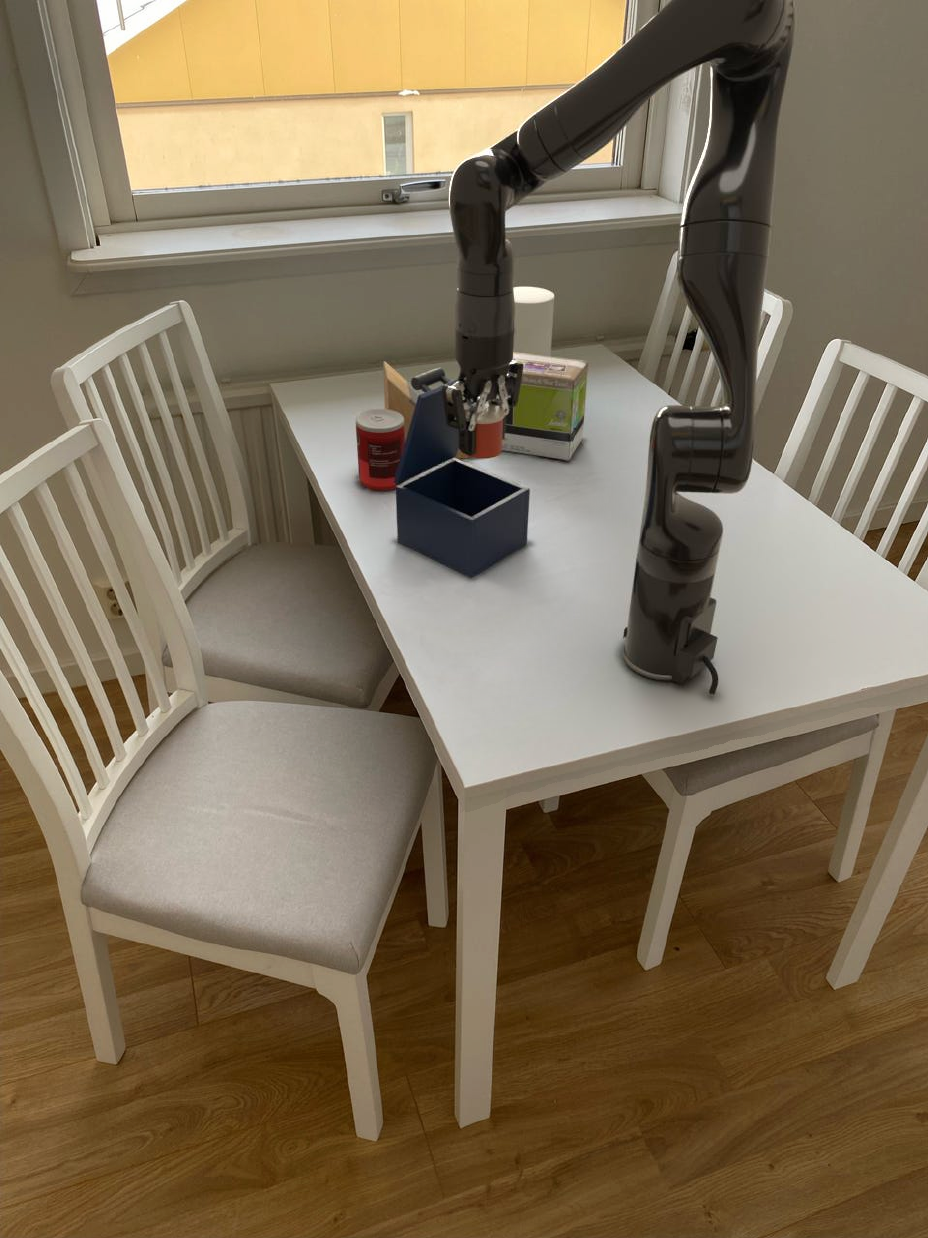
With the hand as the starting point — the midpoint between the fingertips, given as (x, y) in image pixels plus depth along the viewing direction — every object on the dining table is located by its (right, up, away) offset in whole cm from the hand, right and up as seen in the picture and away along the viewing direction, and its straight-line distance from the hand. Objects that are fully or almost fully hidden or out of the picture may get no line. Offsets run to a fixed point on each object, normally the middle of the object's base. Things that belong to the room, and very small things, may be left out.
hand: (482, 445), depth 132 cm
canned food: (-16, -1, +27) cm, 32 cm away
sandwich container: (-8, +6, +37) cm, 38 cm away
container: (+9, +19, +56) cm, 60 cm away
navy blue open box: (-3, -13, +11) cm, 17 cm away
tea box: (+10, +7, +39) cm, 41 cm away
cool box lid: (-6, +3, +3) cm, 7 cm away
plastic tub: (0, -1, 0) cm, 1 cm away
